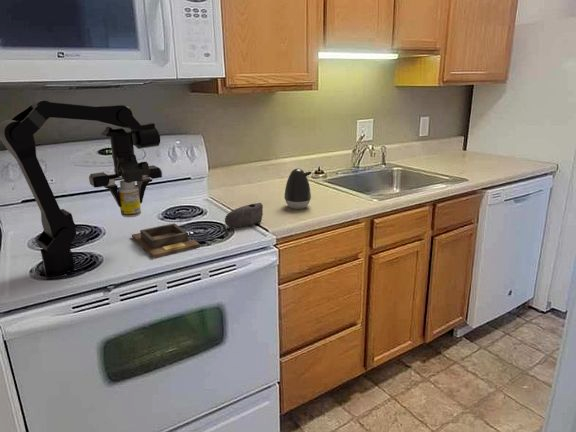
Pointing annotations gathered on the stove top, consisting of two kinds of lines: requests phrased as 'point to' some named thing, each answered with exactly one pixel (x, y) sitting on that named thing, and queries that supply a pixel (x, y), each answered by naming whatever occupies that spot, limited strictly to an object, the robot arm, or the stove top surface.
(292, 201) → the pump dispenser
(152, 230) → the holder board
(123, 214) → the supplement bottle
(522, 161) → the stove top surface
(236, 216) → the perforated stone tool
